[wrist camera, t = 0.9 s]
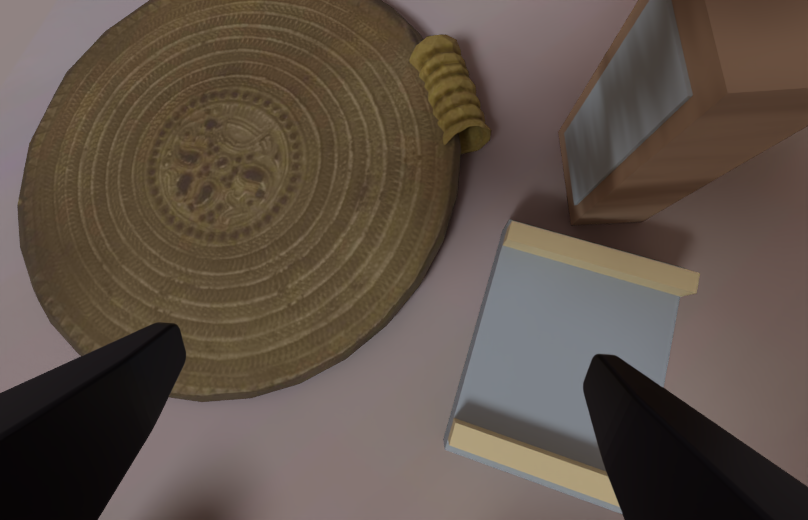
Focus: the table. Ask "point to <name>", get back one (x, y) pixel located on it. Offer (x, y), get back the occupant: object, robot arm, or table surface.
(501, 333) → the rail board
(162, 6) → the decorative disc
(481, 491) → the table surface
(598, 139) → the wooden box
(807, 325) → the table surface
